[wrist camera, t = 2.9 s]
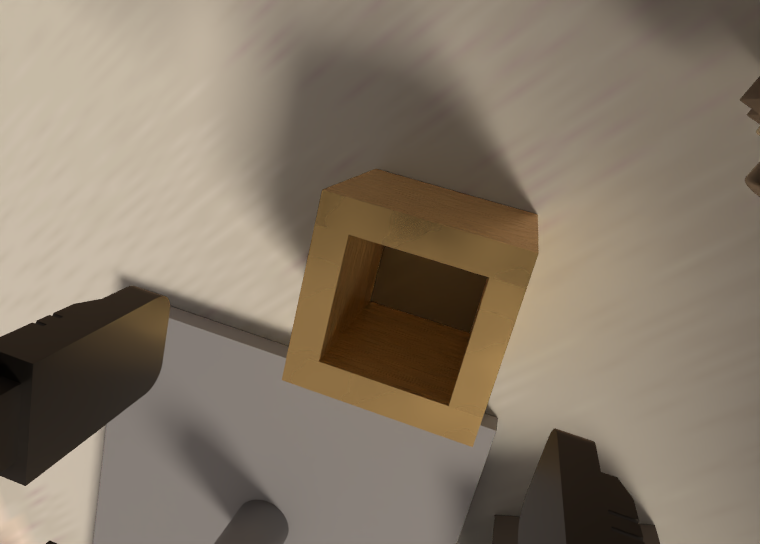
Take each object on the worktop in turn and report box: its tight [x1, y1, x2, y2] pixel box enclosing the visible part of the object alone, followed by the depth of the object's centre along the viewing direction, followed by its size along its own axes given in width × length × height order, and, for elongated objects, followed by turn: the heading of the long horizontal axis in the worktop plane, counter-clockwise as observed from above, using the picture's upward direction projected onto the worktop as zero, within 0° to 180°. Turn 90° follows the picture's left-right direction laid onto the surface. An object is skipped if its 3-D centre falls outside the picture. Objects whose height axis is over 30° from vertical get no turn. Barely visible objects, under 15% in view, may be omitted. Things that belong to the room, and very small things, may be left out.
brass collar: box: [282, 169, 538, 447], centre depth 20 cm, size 6×6×6 cm
